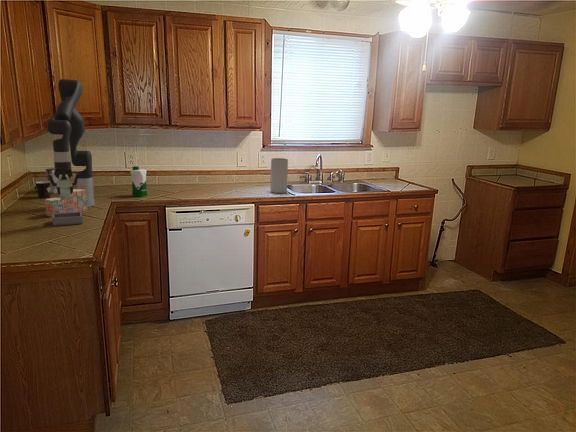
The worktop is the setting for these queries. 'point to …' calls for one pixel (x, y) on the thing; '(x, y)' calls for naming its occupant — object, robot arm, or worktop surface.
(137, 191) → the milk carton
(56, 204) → the stack of blocks
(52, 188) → the coffee box
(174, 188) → the worktop surface
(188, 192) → the worktop surface
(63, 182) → the sage block
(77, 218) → the bin
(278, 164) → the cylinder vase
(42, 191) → the coffee mug
